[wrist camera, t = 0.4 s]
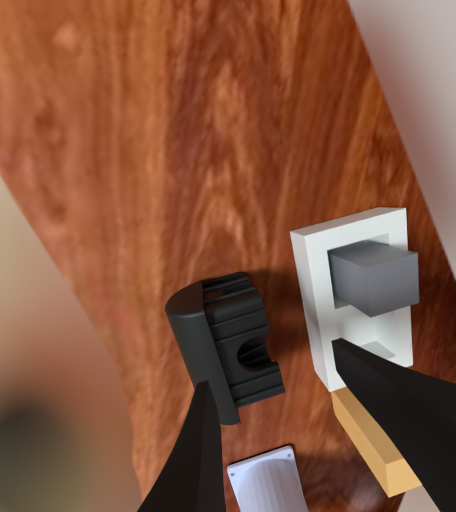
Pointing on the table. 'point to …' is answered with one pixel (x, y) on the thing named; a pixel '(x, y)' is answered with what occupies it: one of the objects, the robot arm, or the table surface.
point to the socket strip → (338, 310)
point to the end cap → (225, 342)
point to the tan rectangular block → (373, 444)
